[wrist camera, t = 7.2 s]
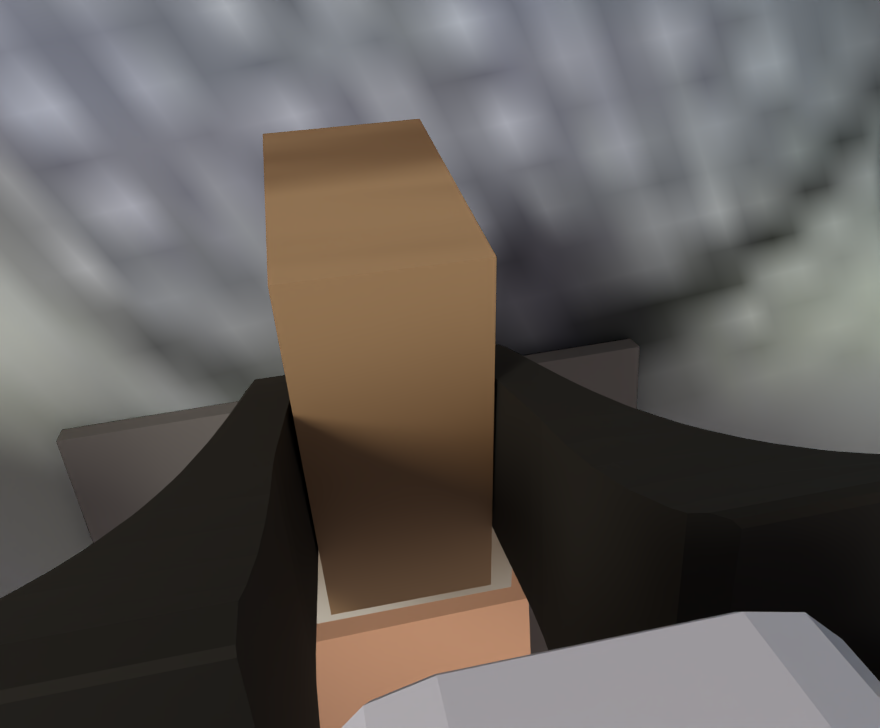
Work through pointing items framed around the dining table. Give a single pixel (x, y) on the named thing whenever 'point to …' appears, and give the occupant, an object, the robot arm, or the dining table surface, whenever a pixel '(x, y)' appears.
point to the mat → (186, 432)
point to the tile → (414, 646)
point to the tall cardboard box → (386, 363)
